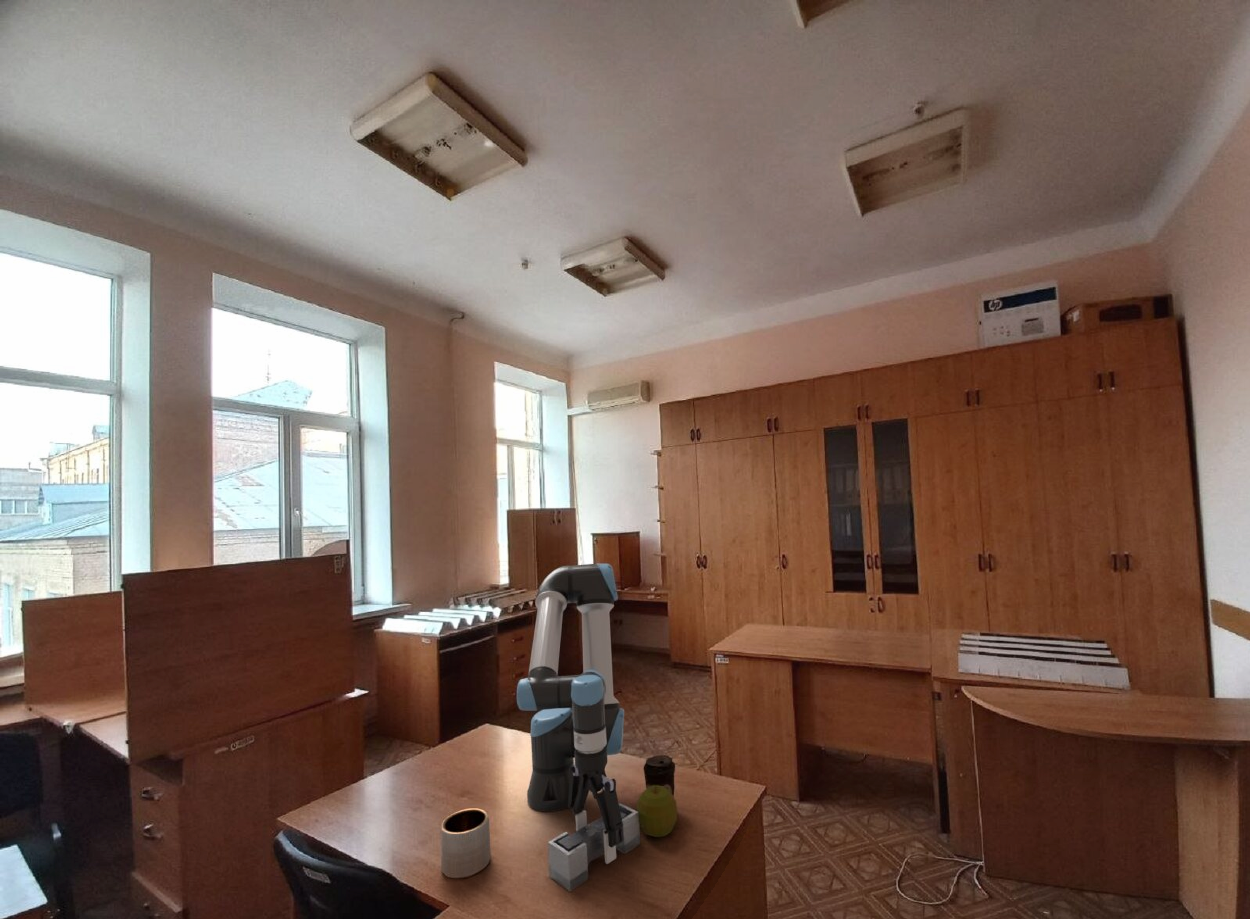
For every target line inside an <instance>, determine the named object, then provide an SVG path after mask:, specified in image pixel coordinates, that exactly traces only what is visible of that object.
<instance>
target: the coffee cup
mask: <svg viewBox="0 0 1250 919" xmlns="http://www.w3.org/2000/svg"><path fill="white" fill-rule="evenodd" d="M675 773H676V763H675V762H673V758H672V757H670V756H669V755H663V754H658V755H654V756H652V757H649V758H647V759H646V760H645V763H644V765H643V774H644V781H645V790H646V789H647V788H649V787H651V786H653V785H659V786H663V787H664V788H666V789H667V790H668V791H669V792H670V793H671V794H672V795H673V797H674V796H675V787H676V786H675ZM674 798H675V797H674Z"/></svg>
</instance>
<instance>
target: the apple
mask: <svg viewBox="0 0 1250 919" xmlns="http://www.w3.org/2000/svg"><path fill="white" fill-rule="evenodd" d="M677 805H678V804H677V801H676V799H675V797H673V795H672V794H671V793H670V792H669V791H668V790H667V789H666V788H664V787H663V786H659V785H653V786H651V787H649V788H647V789H646V788H645V790H643V792H641V794H640V795H639V797H638V801H637V804H636V811H637V812H638V817H639V826H641V828H642V830H643V832H644V833H645V834H646V835H647V836H650V837H653V838H654V837H655V838H664V837H666V836H667V835H669V834H670V833H672V831H673V829H674V828H675V825H676V823H677V820H678V808H677V807H678V806H677Z"/></svg>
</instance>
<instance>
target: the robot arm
mask: <svg viewBox="0 0 1250 919" xmlns="http://www.w3.org/2000/svg"><path fill="white" fill-rule="evenodd" d="M618 600H619V597H618V591H617V586H616V579H615V575H614V569H613V566H612V565H611V564H610V563H598V562H597V563H585V564H576V565H574V564H573V565H563V566H559V567H557V568H556V569H553V571H551V572H550V573H549V574H548V575H547V576H546V577H545V578H544V580H543V581H542V582H541V584H540V585H539V587H538V589H537V593H536V594H535V601H534V602H535V606H536V609H537V612H536V619H535V625H534V626H535V627H534V634H533V639H532V640H533V641H532V646H531V654H530V659H529V660H530V661H529V662H530V663H529V667H528V677H525V678H521V679H519V680H518V683H517V686H516V703H517V707H518V709H519V710H520V711H531V712H532V711H533V712H534V711H535V712H536V711H538V712H536V713H535V714H534V715H533V716H532V718H531V721H530V734H529V736H530V742H531V763H532V771H531V772H532V773H531V776H530V780H529V784H528V789H527V791H526V797H527V798H526V799H527V801H526V802H527V804H528V807H530V808H531V809H533V810H536V811H541V812H556V811H560V810H564V809H567V808H568V809H572V813H573V814H574V825H575V832H576V831H577V830H579V829H581V828H583V827H585V826H586V825H588V818H587V815H588V814H587V811H586V810H585V809H586V808H587V807H586V802H587V798H588V796H589V793H592V796H593V798H594V799H593V800H596V803H597V806H598V809H599V812H600V815H601V817H602V819H603V822H604V825H605V828H606V830H604V831H603V834H604V851H605V853H604V863H605V864H606V865H608V864H610V863H612V862H613V861H615V860H616V859H617V849H616V844H617V837H616V831H617V830H619V829H620V828H622V827H623V823H622V818H621V813H620V808H619V803H620V802H619V798H618V794H617V780H616V778H611V779H610V778H608V777H607V773H606V768H607V767H606V766H607V764H608V756H613V755H618V754H620V753H621V751H622V749H623V740H624V725H625V724H624V723H625V709H624V708H622V707H620V702H619V700H618V699H617V698H616V697H615V695H614V683H613V682H614V680H613V679H614V678H613V660H612V640H611V618H610V612H611V611H612V609H614V607H615V605H614V604H615V601H618ZM568 604H576V609H577V610H578V612H580V614H581V631H582V632H581V633H582V634H581V636H582V639H581V640H582V664H583V666H582V668H583V669H582V670H583V671H582V673H581V674H573V675H560V676H559V675H558V673H559V672H558V671H559V662H560V659H559V658H560V649H561V648H560V647H561V638H562V627H563V625H562V624H563V617H564V616H563V615H564V611H565V610H566V608H567V605H568ZM618 802H619V803H618Z"/></svg>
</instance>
